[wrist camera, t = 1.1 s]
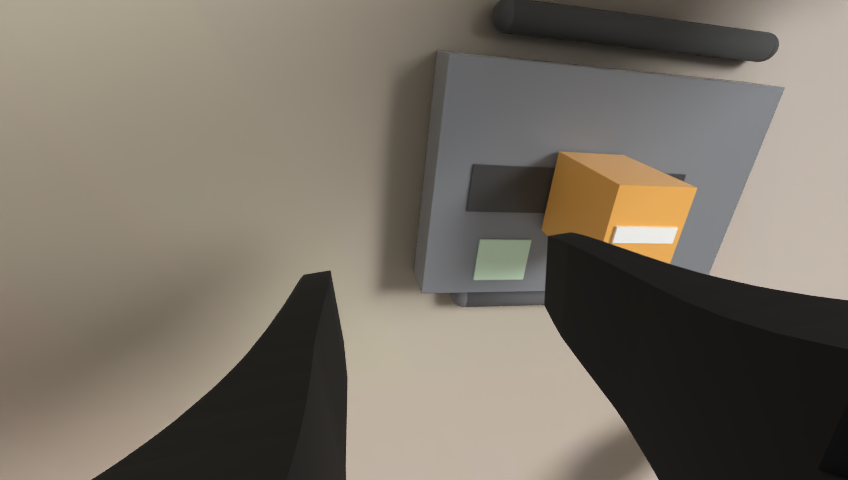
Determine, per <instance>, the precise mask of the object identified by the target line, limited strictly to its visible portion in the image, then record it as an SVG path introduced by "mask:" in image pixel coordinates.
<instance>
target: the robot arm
mask: <svg viewBox="0 0 848 480" xmlns="http://www.w3.org/2000/svg"><path fill="white" fill-rule="evenodd" d="M544 305H545V307H546V309H547V311H548V313H549V315H550V317H551V319H552V321H553V323H554V324H555V326H556V328H557V330H558V332H559V333H560V335H561V337H562V338H563V340H564V341H565V342H566V344H567V345H568V346H569V348H570V349H571V350H572V352H573V353H574V355H575V356H576V357H577V359H578V360H579V361H580V363H581V364H582V365H583V367H584V368H585V369H586V370H587V372H588V373H589V374H590V376H591V377H592V378H593V380H594V381H595V382H596V384H597V385H598V386H599V388H600V389H601V390H602V392H603V393H604V394H605V396H606V397H607V398H608V399H609V401H610V402H611V403H612V405H613V406H614V407H615V409H616V410H617V412H618V413H619V415H620V416H621V418H622V419H623V421H624V422H625V423H626V425H627V427H628V428H629V430H630V432H631V433H632V435H633V437H634V438H635V440H636V442H637V443H638V445H639V447H640V448H641V450H642V452H643V453H644V455H645V457H646V458H647V460H648V462H649V463H650V465H651V467H652V469H653V470H654V472H655V474H656V476H657V477H658V479H659V480H848V300H840V299H832V298H825V297H817V296H810V295H804V294H798V293H792V292H786V291H780V290H774V289H769V288H763V287H758V286H753V285H748V284H744V283H740V282H735V281H731V280H727V279H722V278H718V277H714V276H710V275H706V274H703V273H699V272H695V271H692V270H689V269H685V268H682V267H679V266H675V265H672V264H669V263H665V262H662V261H659V260H656V259H653V258H650V257H647V256H644V255H641V254H638V253H635V252H632V251H630V250H627V249H624V248H621V247H618V246H615V245H612V244H610V243H607V242H604V241H601V240H598V239H595V238H591V237H588V236H585V235H581V234H577V233H572V232H569V233H563V234H556V235H550V236H548V243H547V262H546V280H545V298H544ZM346 424H347V370H346V359H345V350H344V341H343V335H342V330H341V325H340V319H339V314H338V309H337V303H336V298H335V293H334V287H333V282H332V276H331V271H324V272H318V273H312V274H306V275H303V276H302V278H301V279H300V280H299V282H298V283H297V285H296V287H295V288H294V290H293V291H292V293H291V295H290V296H289V298H288V299H287V301H286V302H285V304H284V305H283V307H282V308H281V310H280V311H279V313H278V314H277V315H276V317H275V318H274V320H273V321H272V323H271V324H270V325H269V327H268V328H267V329H266V331H265V332H264V333H263V334H262V336H261V337H260V338H259V339H258V341H257V342H256V343H255V344H254V346H253V347H252V348H251V349H250V351H249V352H248V353H247V354H246V355H245V356H244V358H243V359H242V360H241V361H240V362H239V363H238V364H237V365H236V366H235V367H234V368H233V369H232V370H231V371H230V372H229V373H228V374H227V375H226V376H225V377H224V378H223V379H222V380H221V381H220V382H219V383H218V384H217V385H216V386H215V387H214V388H213V389H212V390H210V391H209V392H208V393H207V394H206V395H205V396H203V397H202V398H201V399H200V400H199V401H198V402H196V403H195V404H194V405H193V406H192V407H191V408H189V409H188V410H187V411H186V412H185V413H184V414H182V415H181V416H180V417H179V418H178V419H176V420H175V421H174V422H173V423H171V424H170V425H169V426H168V427H166V428H165V429H164V430H162V431H161V432H160V433H158V434H157V435H156V436H154V437H153V438H152V439H150V440H149V441H148V442H146V443H145V444H143V445H142V446H141V447H139V448H138V449H136V450H135V451H134V452H132V453H131V454H129V455H128V456H127V457H125V458H124V459H122V460H121V461H119V462H118V463H116V464H115V465H114V466H112V467H111V468H109V469H108V470H106V471H105V472H103V473H101V474H100V475H98V476H97V477H95V478H93V479H92V480H346Z"/></svg>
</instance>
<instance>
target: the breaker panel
mask: <svg viewBox="0 0 848 480" xmlns="http://www.w3.org/2000/svg"><path fill="white" fill-rule="evenodd" d="M783 91H784V88H783V87H777V86H770V85H763V84H756V83H749V82H740V81H730V80H721V79H711V78H701V77H692V76H682V75H672V74H663V73H653V72H643V71H634V70H624V69H614V68H605V67H595V66H585V65H576V64H566V63H556V62H547V61H537V60H527V59H518V58H508V57H498V56H489V55H479V54H469V53H460V52H450V51H440V50H437V55H436V65H435V74H434V84H433V93H432V103H431V113H430V122H429V132H428V141H427V151H426V160H425V170H424V179H423V189H422V198H421V208H420V217H419V227H418V236H417V246H416V255H415V265H414V273H415V276H416V279H417V282H418V284H419V287H420V290H421V292H422V293H460V292H515V291H545V280H546V262H547V243H548V236H547V235H546V234H545V233H544V232H543V231H542V230H541V229H542V224H543V220H544V216H545V211H546V207H547V202H548V198H549V193H550V189H551V185H552V180H553V176H554V171H555V167H556V162H557V158H558V153H559V151H561V152H579V153H597V154H615V155H625V156H627V157H629V158H631V159H634V160H636V161H638V162H640V163H643V164H645V165H647V166H649V167H652V168H654V169H656V170H658V171H661V172H663V173H665V174H667V175H670V176H672V177H674V178H676V179H679V180H681V181H683V182H685V183H688V184H690V185H692V186H694V187H697V191H696V194H695V196H694V199H693V202H692V205H691V207H690V210H689V213H688V216H687V218H686V221H685V224H684V227H683V229H682V232H681V235H680V238H679V240H678V243H677V246H676V249H675V251H674V254H673V257H672V260H671V262H670V264H672V265H675V266H679V267H682V268H685V269H689V270H692V271H695V272H699V273H703V274H706V275H709V272H710V270H711V268H712V265H713V263H714V260H715V258H716V255H717V253H718V250H719V248H720V245H721V243H722V241H723V238H724V236H725V233H726V231H727V228H728V226H729V223H730V221H731V218H732V216H733V214H734V211H735V209H736V206H737V204H738V201H739V199H740V196H741V194H742V191H743V189H744V187H745V184H746V182H747V179H748V177H749V174H750V172H751V169H752V167H753V164H754V162H755V160H756V157H757V155H758V152H759V150H760V147H761V145H762V142H763V140H764V137H765V135H766V133H767V130H768V128H769V125H770V123H771V120H772V118H773V115H774V113H775V110H776V108H777V105H778V103H779V101H780V98H781V96H782V93H783Z"/></svg>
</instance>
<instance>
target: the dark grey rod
mask: <svg viewBox="0 0 848 480" xmlns="http://www.w3.org/2000/svg"><path fill="white" fill-rule="evenodd" d="M492 19H493V23H494V25H495V27H496V28H497V29H498V30H500V31H502V32H505V33H513V34H522V35H531V36H539V37H548V38H556V39H565V40H574V41H582V42H591V43H599V44H608V45H617V46H625V47H634V48H642V49H651V50H660V51H668V52H677V53H685V54H694V55H703V56H711V57H720V58H728V59H737V60H746V61H754V62H761V61H765V60H768V59H769V58H771V57H772V56H773V55H774V54H775V53H776V52H777V50H778V47H779V41H778V38H777V37H776V36H775V35H774V34H772V33H768V32H761V31H753V30H746V29H738V28H731V27H723V26H716V25H709V24H701V23H694V22H686V21H679V20H671V19H664V18H657V17H649V16H642V15H634V14H627V13H619V12H612V11H605V10H597V9H590V8H582V7H575V6H567V5H560V4H553V3H545V2H538V1H530V0H501V1H500V2H498V3H497V5H496V6H495V8H494V10H493V14H492Z"/></svg>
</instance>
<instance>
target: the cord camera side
mask: <svg viewBox="0 0 848 480" xmlns="http://www.w3.org/2000/svg"><path fill="white" fill-rule="evenodd" d="M451 296H452V300H453V301H454V303H455V304H456V305H458V306H461V307H482V306H521V305H544V298H545V291H515V292H460V293H452V294H451Z"/></svg>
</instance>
